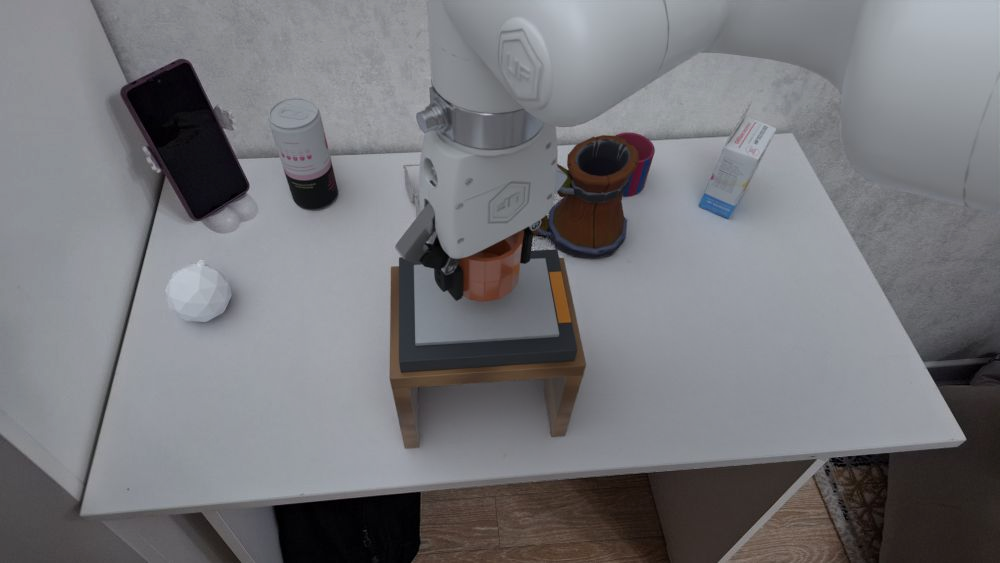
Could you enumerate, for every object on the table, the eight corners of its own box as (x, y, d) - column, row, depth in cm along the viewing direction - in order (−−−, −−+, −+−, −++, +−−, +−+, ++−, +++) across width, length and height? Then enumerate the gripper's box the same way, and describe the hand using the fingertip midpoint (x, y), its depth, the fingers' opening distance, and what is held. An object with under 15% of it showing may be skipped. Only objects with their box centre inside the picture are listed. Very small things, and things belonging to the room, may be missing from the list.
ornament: (165, 307, 78) (170, 247, 76) (229, 311, 81) (235, 254, 79) (159, 330, 72) (164, 265, 70) (228, 334, 75) (235, 272, 73)
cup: (648, 196, 94) (659, 162, 88) (583, 197, 93) (590, 163, 88) (639, 166, 98) (649, 131, 92) (577, 167, 97) (583, 132, 92)
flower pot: (533, 283, 55) (539, 239, 51) (473, 317, 53) (474, 273, 48) (491, 239, 58) (494, 193, 54) (434, 268, 56) (431, 223, 51)
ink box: (729, 221, 91) (767, 142, 79) (697, 207, 93) (730, 128, 81) (748, 188, 96) (787, 109, 84) (717, 175, 97) (751, 95, 85)
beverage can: (303, 177, 93) (279, 92, 81) (345, 184, 93) (326, 100, 81) (286, 207, 89) (257, 123, 77) (329, 215, 89) (307, 132, 77)
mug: (504, 266, 84) (510, 186, 72) (497, 205, 91) (501, 123, 79) (633, 260, 86) (659, 181, 74) (616, 201, 93) (638, 120, 81)
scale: (555, 261, 64) (557, 245, 62) (574, 361, 57) (578, 347, 55) (400, 269, 63) (398, 253, 61) (400, 373, 56) (398, 359, 54)
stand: (548, 338, 77) (563, 257, 65) (565, 436, 70) (586, 365, 57) (404, 347, 76) (390, 266, 63) (404, 448, 68) (389, 378, 55)
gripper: (403, 185, 36) (422, 347, 50) (624, 88, 42) (585, 256, 56) (343, 116, 39) (377, 286, 53) (556, 36, 46) (535, 206, 60)
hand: (484, 269), depth 55 cm, fingers closed on flower pot, 6 cm apart
